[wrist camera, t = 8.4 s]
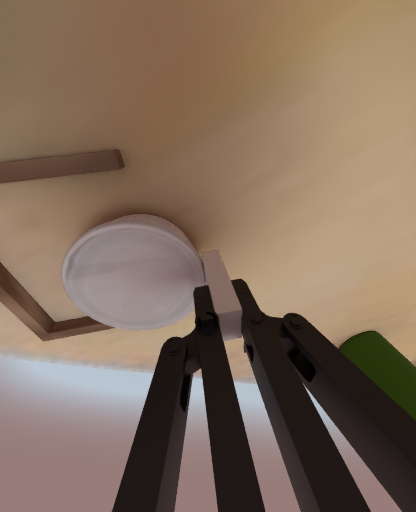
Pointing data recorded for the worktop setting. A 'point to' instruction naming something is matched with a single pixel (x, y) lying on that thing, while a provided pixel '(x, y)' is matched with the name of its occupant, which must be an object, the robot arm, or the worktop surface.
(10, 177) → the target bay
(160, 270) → the ramekin
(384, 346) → the wine bottle
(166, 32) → the worktop surface
